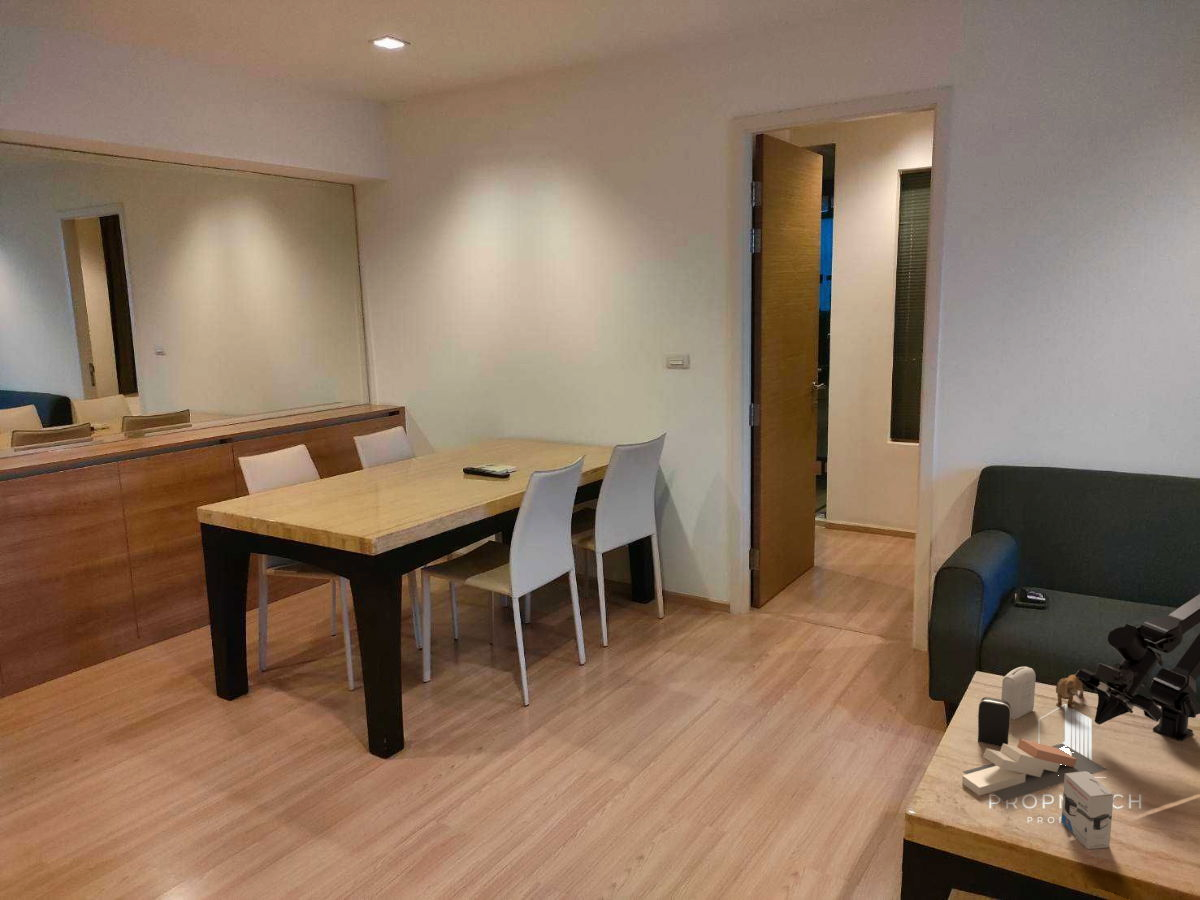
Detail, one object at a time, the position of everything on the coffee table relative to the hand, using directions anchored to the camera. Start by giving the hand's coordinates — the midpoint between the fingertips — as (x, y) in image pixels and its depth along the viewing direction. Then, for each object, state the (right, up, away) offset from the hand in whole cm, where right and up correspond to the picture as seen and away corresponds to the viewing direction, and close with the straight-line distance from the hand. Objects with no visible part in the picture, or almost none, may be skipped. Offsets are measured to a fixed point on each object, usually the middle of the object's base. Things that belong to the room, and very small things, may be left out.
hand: (1096, 723), depth 194 cm
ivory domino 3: (-13, -8, -3) cm, 16 cm away
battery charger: (-20, -8, +8) cm, 23 cm away
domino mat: (-17, -10, -4) cm, 20 cm away
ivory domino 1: (-22, -9, -6) cm, 25 cm away
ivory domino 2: (-17, -9, -5) cm, 20 cm away
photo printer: (-8, -5, +22) cm, 23 cm away
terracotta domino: (-8, -8, -2) cm, 11 cm away
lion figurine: (+8, -3, +25) cm, 27 cm away
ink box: (-18, -14, -26) cm, 35 cm away
